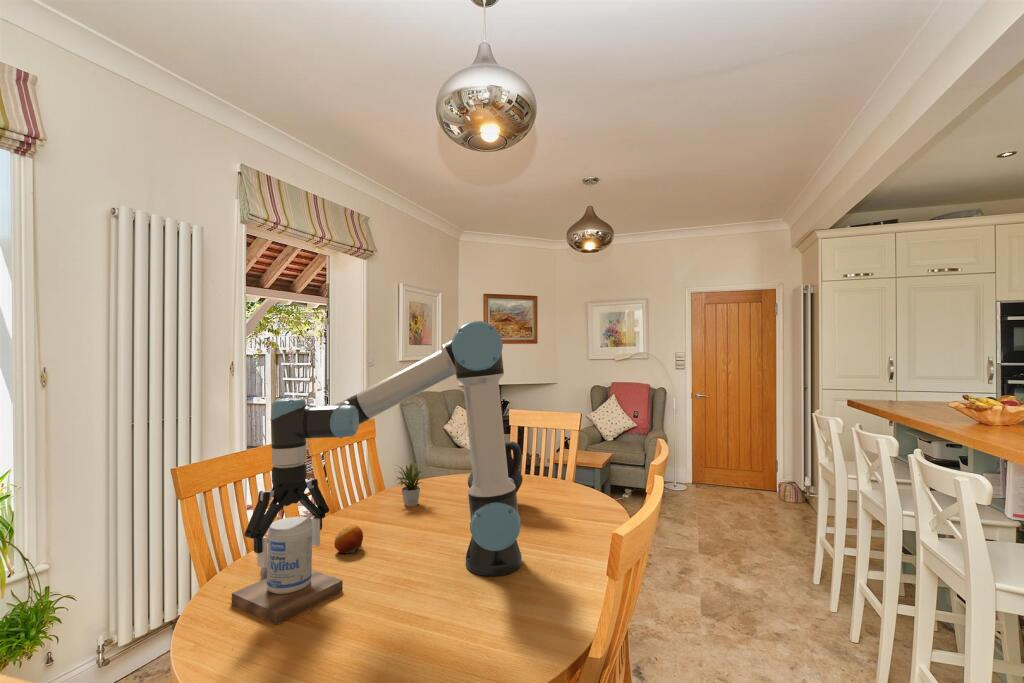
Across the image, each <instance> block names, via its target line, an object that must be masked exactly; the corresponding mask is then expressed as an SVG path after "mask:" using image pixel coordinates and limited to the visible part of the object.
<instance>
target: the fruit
mask: <svg viewBox="0 0 1024 683" xmlns="http://www.w3.org/2000/svg"><path fill="white" fill-rule="evenodd" d="M363 539H364V533H363V530H362V528H361V527H360V526H359V525H349V526H347V527H345V528H342V529H341V530H339V531H337V534H336V537H335V538H334V548H335V549H336V550H337V551H338V552H339V553H341V554H344V553H345V554H349V553H353V554H355V553H356V551H357V549H360V548H361V549H363V546H362V544H363V541H364V540H363Z"/></svg>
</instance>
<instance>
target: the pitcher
mask: <svg viewBox="0 0 1024 683" xmlns="http://www.w3.org/2000/svg"><path fill="white" fill-rule="evenodd" d="M505 449H506V459H507V469H508V478H511V479H513V481H514V484H515V486H516V494H517V493H518V491H519V490H520V488H521V487H522V483H523V475H522V473H521V471H520V470H519V467H520V465H521V460H522V449H521V447H520V445H519V443H517V442H515V441H505ZM472 481H473V473H472V471H471V473H470V474H469V476H468V477H467V486H468V489H470V487H471V486H472Z"/></svg>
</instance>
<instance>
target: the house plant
mask: <svg viewBox="0 0 1024 683" xmlns="http://www.w3.org/2000/svg"><path fill="white" fill-rule="evenodd" d="M414 464H415V466H414ZM395 466H397V467H398V469H400V470H401V471H400V470H398V469H397V470H395V472H396V473H397V472H398V473H399V474H401V476H397V475H396V479H395V482H396V481H397V482H398V481H399V482H398V483H397V485H400V486H402V485H404V486H403V487H401V495H402V500H403V505H406V506H405V507H408V506H411V507H416V506H417V504H418V505H419V499H420V492H421V486H419V485H420V484H423V482H420V481H419V480H420V479H421V478H424V477H427V476H426V475H422V476H420V477H419V475H420V474H421V473H422V471H423V470H424V468H423V469H420V470H419V465H417V464H416V463H415V461H410V463H409V467H408V465H407V464H406V465H405V470H404V469H403V468H402V467H401V466H400V465H398V464H395ZM413 467H414V468H413ZM413 469H414V470H413ZM418 477H419V478H418ZM415 505H416V506H415Z"/></svg>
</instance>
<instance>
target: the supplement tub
mask: <svg viewBox="0 0 1024 683" xmlns="http://www.w3.org/2000/svg"><path fill="white" fill-rule="evenodd" d="M310 518H311V517H310ZM310 518H309V517H306V516H290V517H283V518H279V519H278V520H274V521H273V522H272V524H271V525H270V527H269V529H268V534H267V535H268V536H267V554H268V567H267V589H268V590H269V591H270V592H272V593H275V594H288V593H292V592H295V591H299V590H301V589H303V588H305V587H306V586H307V585H308V584H309V583H310V582H311V572H312V570H313V569H312V566H313V565H312V564H313V562H312V561H313V545H312V527H313V526H312V520H311V519H310Z"/></svg>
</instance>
